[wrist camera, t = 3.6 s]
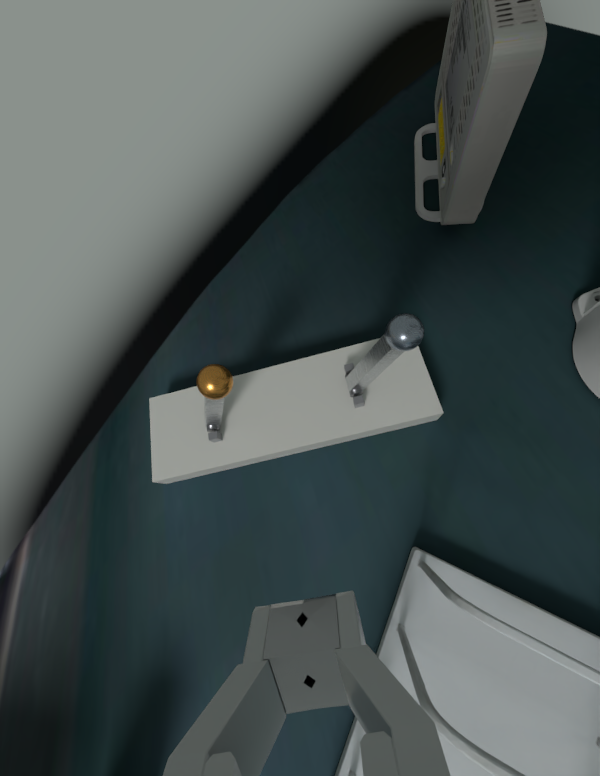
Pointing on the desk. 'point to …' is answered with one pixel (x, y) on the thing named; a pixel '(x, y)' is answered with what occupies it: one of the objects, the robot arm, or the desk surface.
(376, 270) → the desk surface
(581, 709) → the file sorter
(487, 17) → the network device
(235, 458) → the control panel
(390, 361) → the grey knob lever
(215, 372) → the orange knob lever
